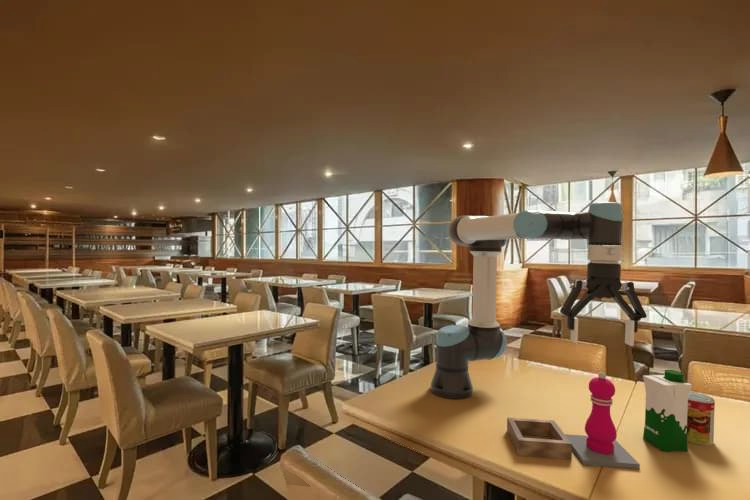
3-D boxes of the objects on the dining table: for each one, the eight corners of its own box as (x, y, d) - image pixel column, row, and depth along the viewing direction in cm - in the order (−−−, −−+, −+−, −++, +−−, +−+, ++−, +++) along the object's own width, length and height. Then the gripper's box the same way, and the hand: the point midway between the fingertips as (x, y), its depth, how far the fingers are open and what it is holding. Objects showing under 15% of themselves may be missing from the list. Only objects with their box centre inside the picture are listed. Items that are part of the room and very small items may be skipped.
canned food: (675, 429, 115) (676, 389, 115) (709, 436, 111) (711, 394, 111) (679, 440, 108) (681, 398, 108) (716, 448, 104) (718, 404, 104)
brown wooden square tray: (518, 455, 99) (518, 440, 99) (506, 431, 112) (507, 417, 112) (571, 459, 98) (572, 443, 97) (553, 434, 110) (554, 420, 110)
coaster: (583, 464, 95) (583, 459, 95) (563, 438, 108) (563, 434, 108) (639, 469, 94) (639, 464, 94) (612, 441, 107) (613, 437, 107)
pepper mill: (621, 457, 97) (623, 378, 96) (589, 453, 98) (591, 375, 98) (609, 442, 104) (611, 369, 103) (580, 439, 105) (582, 366, 105)
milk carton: (694, 452, 102) (696, 377, 101) (662, 453, 101) (664, 378, 101) (666, 436, 110) (668, 366, 110) (636, 437, 110) (638, 367, 109)
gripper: (558, 261, 98) (556, 344, 98) (664, 264, 95) (661, 349, 96) (549, 260, 105) (546, 337, 106) (647, 262, 103) (644, 341, 103)
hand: (601, 343), depth 101 cm, fingers open, 13 cm apart
